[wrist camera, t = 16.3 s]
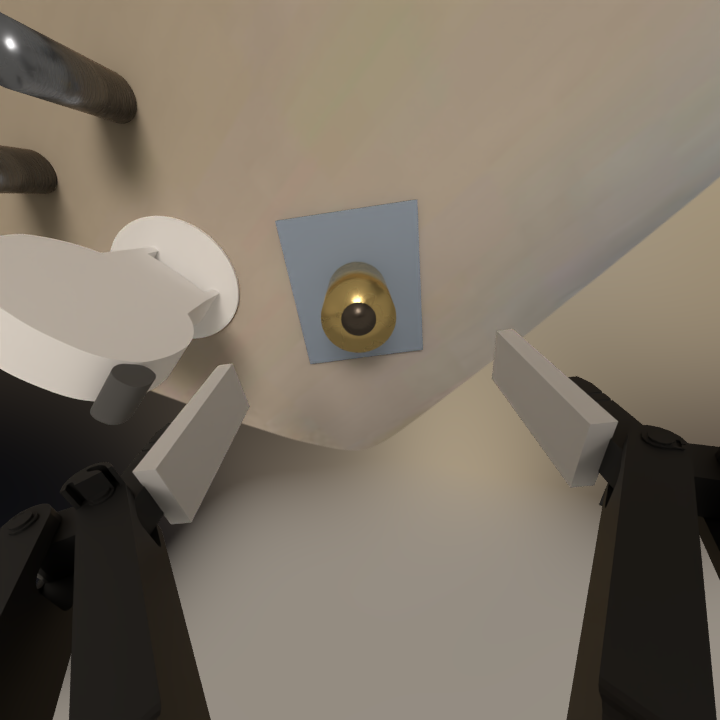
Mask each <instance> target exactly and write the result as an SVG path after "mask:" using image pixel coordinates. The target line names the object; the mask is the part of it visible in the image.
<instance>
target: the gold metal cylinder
mask: <svg viewBox="0 0 720 720" xmlns="http://www.w3.org/2000/svg"><path fill="white" fill-rule="evenodd" d="M321 324H322V328H323V330H324V333H325V334H326V336H327V337H328V339H329V340H330V341H331V342H332V343H333V344H334V345H336V346H337V347H339V348H341V349H343V350H345V351H349V352H354V353H362V352H368V351H371V350H374V349H376V348H378V347H380V346H381V345H382V344H384V343H385V342H386V341H387V340H388V339H389V337H390V336H391V334H392V333H393V330H394V328H395V324H396V309H395V306H394V303H393V301H392V298H391V295H390V293H389V290H388V287H387V285H386V282H385V280H384V277H383V276H382V274H381V273H380V272H379V271H378V270H377V269H376V268H375V267H373V266H372V265H370V264H367V263H364V262H351V263H347V264H345V265H343V266H341V267H340V268H338V269H337V270H336V271H335V272H334V274H333V275H332V277H331V279H330V281H329V284H328V288H327V292H326V295H325V299H324V303H323V307H322V311H321Z"/></svg>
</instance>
